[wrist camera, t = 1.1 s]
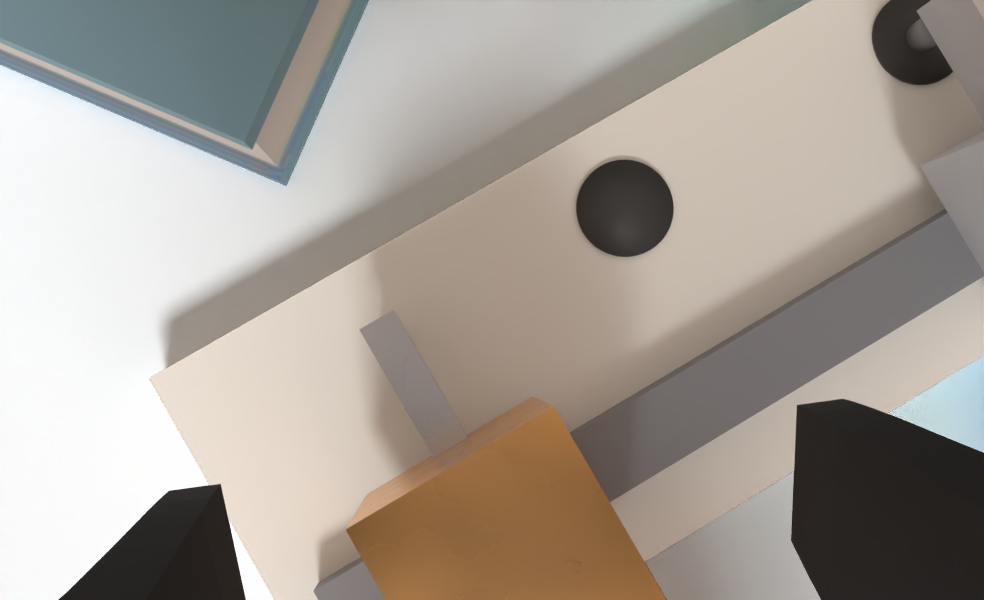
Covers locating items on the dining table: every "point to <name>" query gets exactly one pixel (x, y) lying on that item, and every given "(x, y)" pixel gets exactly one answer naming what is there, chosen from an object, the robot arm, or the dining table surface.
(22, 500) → the dining table surface
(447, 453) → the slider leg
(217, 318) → the dining table surface
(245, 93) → the book
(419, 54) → the dining table surface
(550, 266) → the pitch plate
